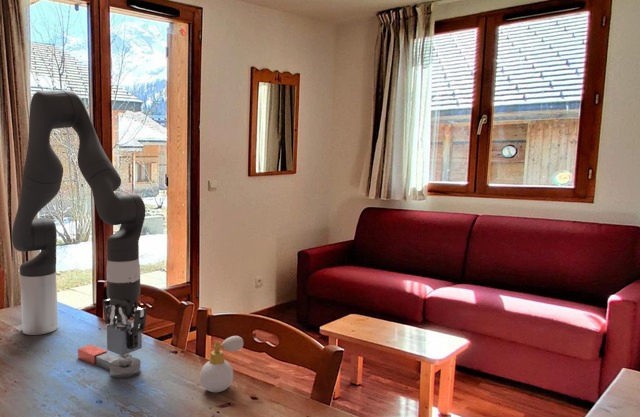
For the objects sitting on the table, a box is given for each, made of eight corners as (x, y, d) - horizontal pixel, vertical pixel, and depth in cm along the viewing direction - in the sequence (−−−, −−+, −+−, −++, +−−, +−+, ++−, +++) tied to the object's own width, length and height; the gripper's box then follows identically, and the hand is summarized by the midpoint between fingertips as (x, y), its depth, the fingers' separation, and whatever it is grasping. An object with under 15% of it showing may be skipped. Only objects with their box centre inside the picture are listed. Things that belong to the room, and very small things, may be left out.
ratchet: (71, 360, 131) (71, 339, 130) (96, 351, 136) (96, 331, 136) (122, 382, 120) (121, 359, 119) (146, 371, 125) (146, 350, 125)
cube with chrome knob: (107, 349, 123) (106, 324, 122) (127, 342, 127) (126, 318, 127) (121, 355, 120) (121, 329, 119) (141, 348, 124) (141, 322, 124)
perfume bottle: (193, 390, 116) (193, 340, 115) (224, 375, 124) (224, 328, 123) (216, 400, 112) (216, 348, 111) (246, 384, 120) (247, 335, 119)
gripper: (91, 275, 122) (92, 343, 124) (129, 285, 115) (130, 357, 117) (118, 269, 129) (119, 334, 131) (156, 279, 121) (156, 347, 123)
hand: (124, 344), depth 124 cm, fingers closed on cube with chrome knob, 5 cm apart
